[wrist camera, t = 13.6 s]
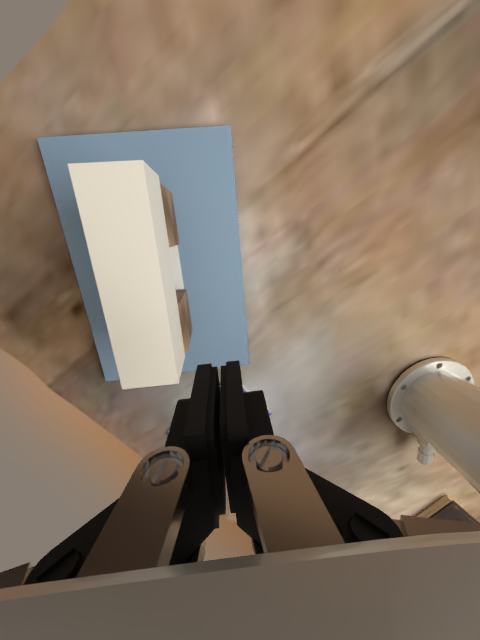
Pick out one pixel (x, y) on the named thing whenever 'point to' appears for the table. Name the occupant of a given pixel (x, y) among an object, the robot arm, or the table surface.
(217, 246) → the board
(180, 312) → the post
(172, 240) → the post
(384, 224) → the table surface
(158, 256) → the beam
